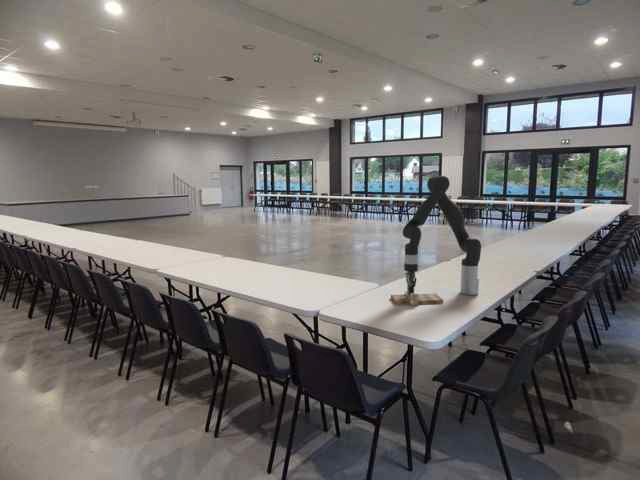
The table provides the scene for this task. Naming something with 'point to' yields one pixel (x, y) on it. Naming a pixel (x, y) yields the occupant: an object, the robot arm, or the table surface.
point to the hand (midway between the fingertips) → (410, 292)
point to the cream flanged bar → (412, 296)
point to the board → (422, 299)
